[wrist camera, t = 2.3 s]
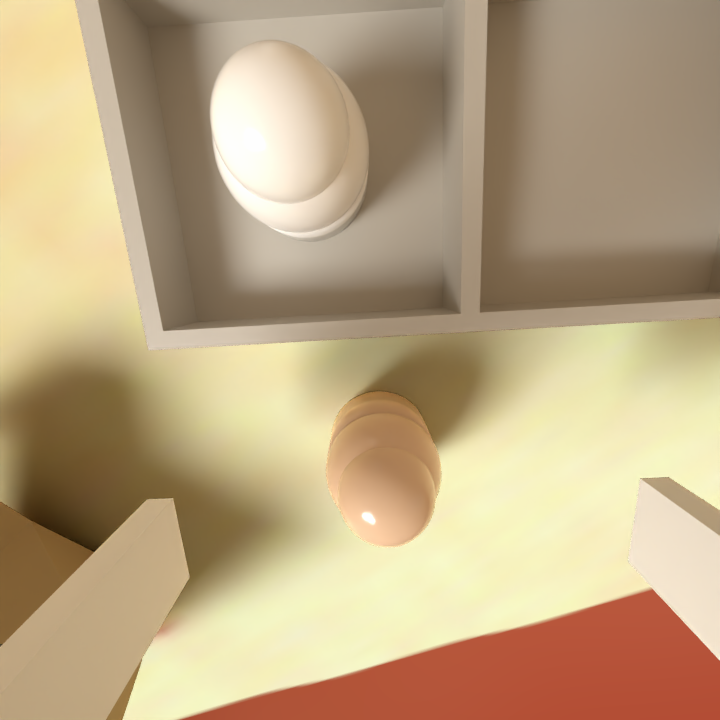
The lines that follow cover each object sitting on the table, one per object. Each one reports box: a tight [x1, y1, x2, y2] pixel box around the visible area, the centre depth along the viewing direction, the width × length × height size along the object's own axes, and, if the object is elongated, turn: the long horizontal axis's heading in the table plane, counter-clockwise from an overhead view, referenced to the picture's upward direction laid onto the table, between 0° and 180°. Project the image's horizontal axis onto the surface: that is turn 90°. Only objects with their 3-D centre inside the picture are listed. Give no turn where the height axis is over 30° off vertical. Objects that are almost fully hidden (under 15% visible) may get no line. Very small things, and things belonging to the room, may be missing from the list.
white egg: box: [210, 40, 369, 242], centre depth 9 cm, size 4×4×6 cm
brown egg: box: [326, 391, 441, 548], centre depth 12 cm, size 4×4×6 cm
